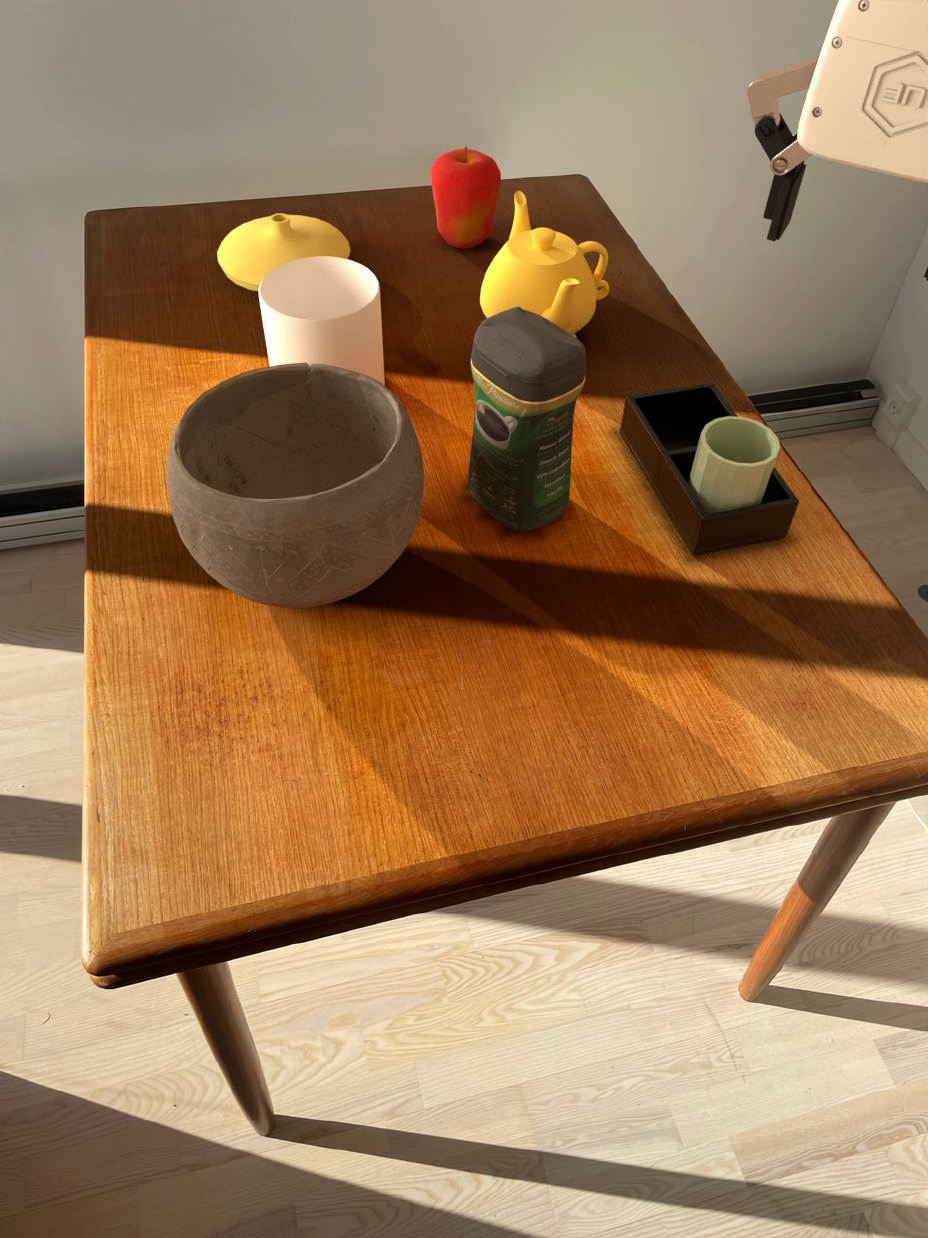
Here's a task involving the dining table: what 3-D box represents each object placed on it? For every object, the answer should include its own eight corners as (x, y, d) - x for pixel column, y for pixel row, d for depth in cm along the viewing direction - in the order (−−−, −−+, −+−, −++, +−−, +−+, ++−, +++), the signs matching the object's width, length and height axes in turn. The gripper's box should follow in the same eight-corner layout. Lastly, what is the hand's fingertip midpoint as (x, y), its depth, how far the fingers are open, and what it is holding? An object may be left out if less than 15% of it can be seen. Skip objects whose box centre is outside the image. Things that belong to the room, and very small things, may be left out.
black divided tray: (785, 538, 90) (799, 501, 86) (692, 556, 88) (703, 519, 84) (703, 418, 101) (712, 381, 97) (619, 432, 99) (625, 395, 96)
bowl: (182, 500, 91) (146, 366, 80) (397, 466, 95) (392, 333, 84) (203, 671, 78) (163, 540, 67) (451, 623, 82) (453, 491, 71)
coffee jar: (582, 509, 92) (608, 339, 77) (519, 546, 88) (534, 375, 74) (515, 456, 96) (528, 287, 82) (453, 489, 93) (455, 319, 79)
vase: (351, 308, 113) (347, 251, 108) (215, 310, 112) (203, 254, 107) (352, 239, 123) (348, 184, 118) (227, 241, 122) (217, 186, 117)
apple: (511, 242, 124) (516, 148, 115) (461, 263, 120) (462, 168, 111) (467, 216, 128) (469, 123, 119) (417, 235, 124) (416, 141, 115)
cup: (299, 348, 108) (286, 247, 98) (399, 367, 106) (395, 266, 97) (256, 411, 100) (238, 308, 91) (362, 433, 98) (354, 329, 89)
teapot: (635, 367, 107) (652, 271, 98) (506, 386, 104) (512, 289, 95) (575, 273, 119) (586, 180, 110) (459, 287, 116) (460, 194, 108)
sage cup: (765, 497, 92) (788, 430, 86) (745, 542, 88) (767, 475, 82) (696, 474, 94) (714, 407, 88) (674, 517, 90) (691, 450, 84)
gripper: (773, -86, 48) (701, 242, 61) (1157, -25, 43) (989, 318, 56) (811, -121, 52) (737, 193, 65) (1164, -69, 47) (1006, 259, 60)
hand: (853, 250), depth 60 cm, fingers open, 9 cm apart
